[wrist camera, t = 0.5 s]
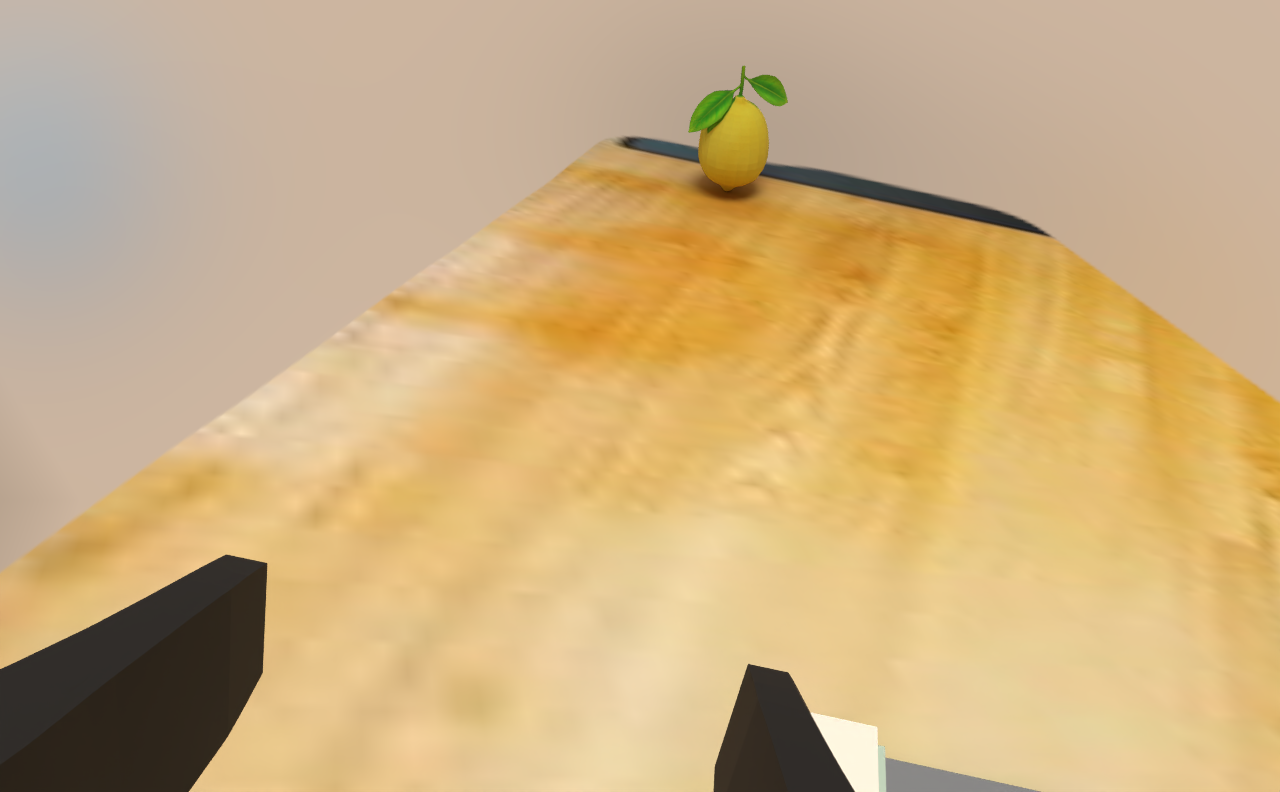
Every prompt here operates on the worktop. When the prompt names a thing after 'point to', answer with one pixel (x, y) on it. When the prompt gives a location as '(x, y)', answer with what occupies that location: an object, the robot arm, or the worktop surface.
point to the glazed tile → (855, 752)
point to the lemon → (735, 132)
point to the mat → (937, 780)
